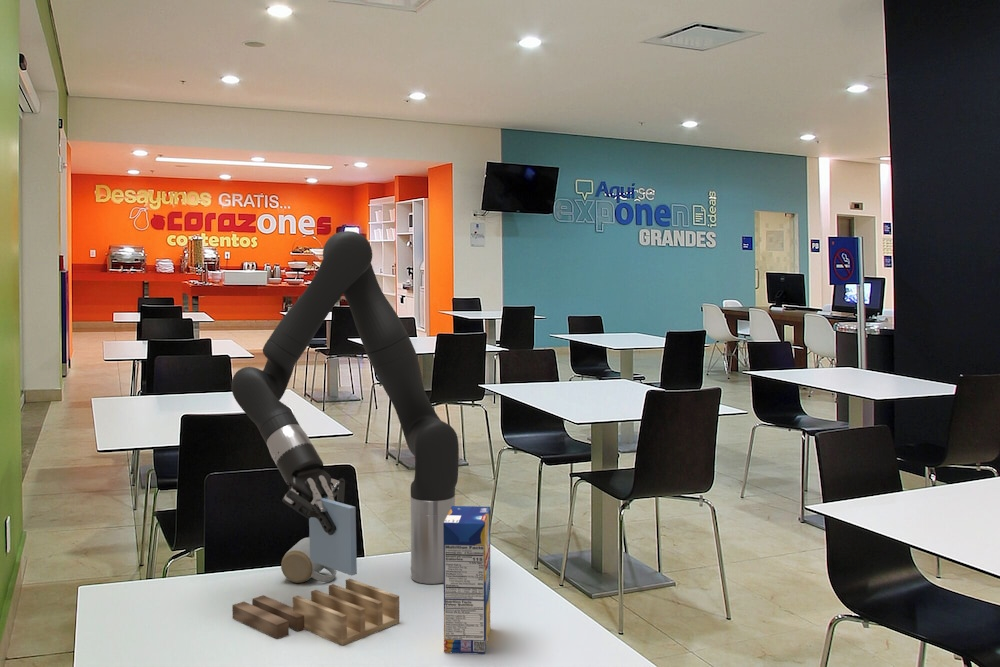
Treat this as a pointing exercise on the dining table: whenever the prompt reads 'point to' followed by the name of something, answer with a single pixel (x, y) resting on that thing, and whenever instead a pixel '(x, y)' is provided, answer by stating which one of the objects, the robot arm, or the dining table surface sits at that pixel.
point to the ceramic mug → (303, 564)
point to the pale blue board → (335, 539)
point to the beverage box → (466, 579)
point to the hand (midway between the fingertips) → (337, 530)
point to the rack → (348, 611)
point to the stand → (268, 616)
